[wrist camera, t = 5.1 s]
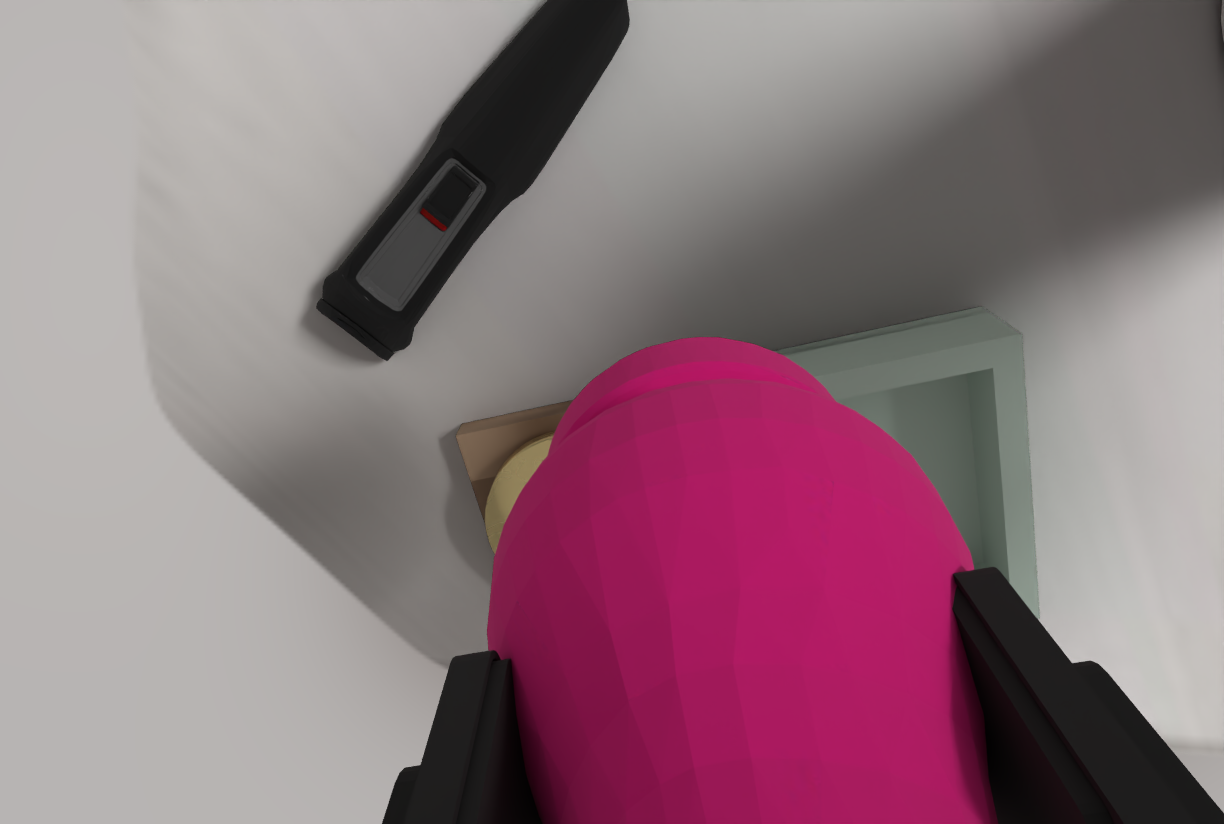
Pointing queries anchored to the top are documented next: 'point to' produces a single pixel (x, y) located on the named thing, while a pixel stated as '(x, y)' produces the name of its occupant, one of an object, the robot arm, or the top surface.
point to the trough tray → (949, 422)
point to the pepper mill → (735, 607)
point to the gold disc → (513, 484)
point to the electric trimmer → (474, 170)
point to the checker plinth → (502, 442)
